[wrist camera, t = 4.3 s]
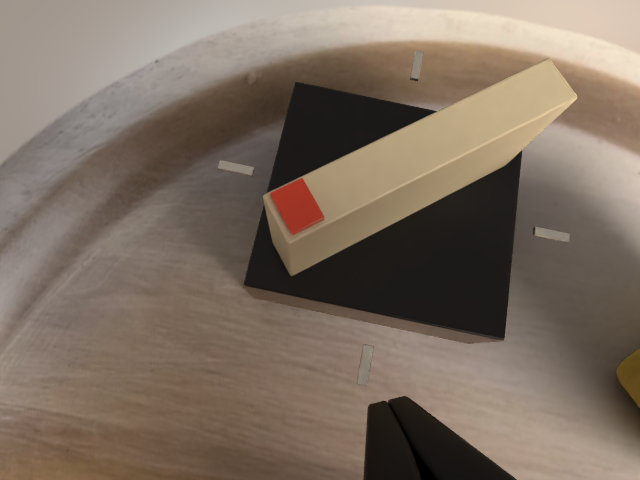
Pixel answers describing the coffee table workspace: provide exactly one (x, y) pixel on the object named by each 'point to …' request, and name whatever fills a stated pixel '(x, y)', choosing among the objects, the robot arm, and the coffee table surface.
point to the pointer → (412, 166)
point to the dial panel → (394, 233)
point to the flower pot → (631, 375)
